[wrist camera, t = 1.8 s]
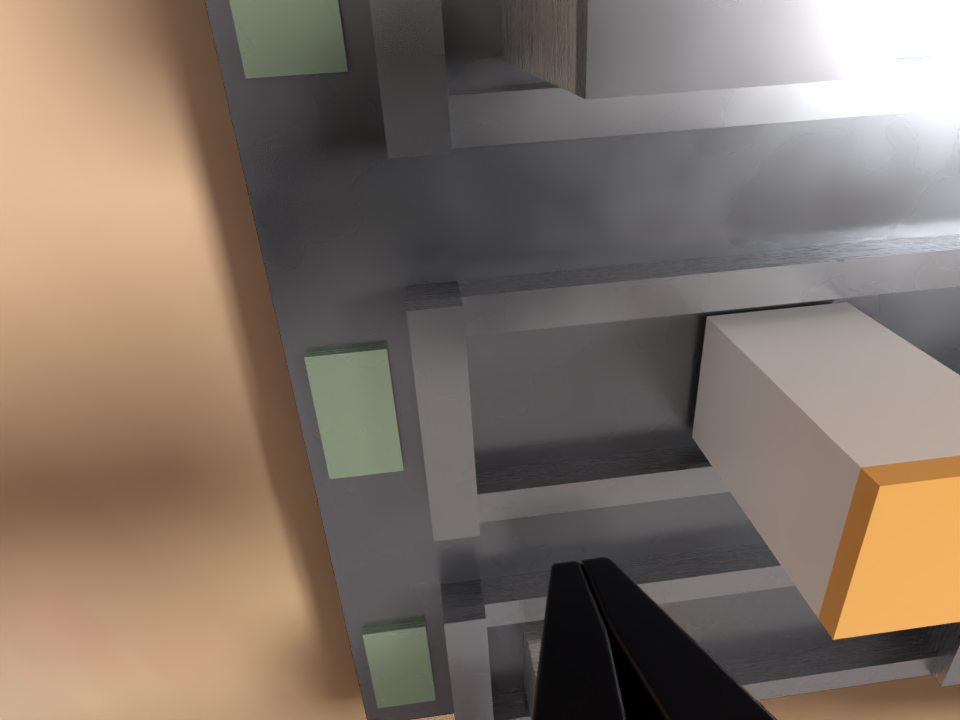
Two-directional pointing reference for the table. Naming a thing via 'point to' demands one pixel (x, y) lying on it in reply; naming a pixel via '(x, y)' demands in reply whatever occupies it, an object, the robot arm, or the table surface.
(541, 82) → the panel
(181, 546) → the table surface
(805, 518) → the handle
